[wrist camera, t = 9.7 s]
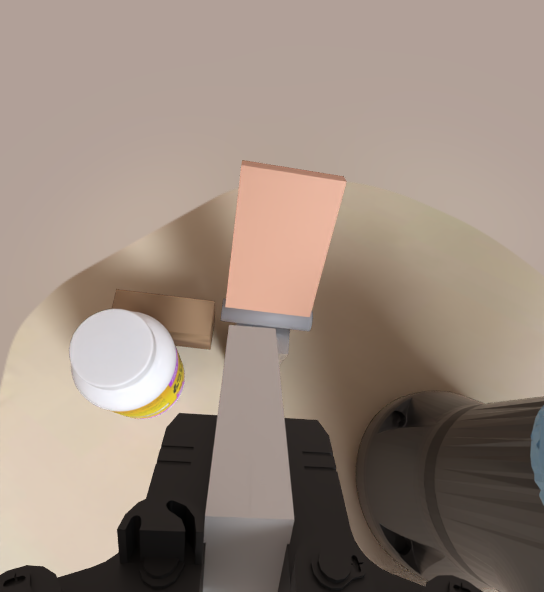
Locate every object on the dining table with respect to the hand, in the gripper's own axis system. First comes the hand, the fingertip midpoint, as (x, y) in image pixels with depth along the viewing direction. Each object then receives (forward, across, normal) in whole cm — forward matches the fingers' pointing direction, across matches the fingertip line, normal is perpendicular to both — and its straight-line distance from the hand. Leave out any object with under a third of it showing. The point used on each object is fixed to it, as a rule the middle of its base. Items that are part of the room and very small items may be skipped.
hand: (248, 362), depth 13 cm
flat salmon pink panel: (+14, +2, 0) cm, 14 cm away
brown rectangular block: (+21, -7, -11) cm, 25 cm away
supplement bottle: (+18, -8, -15) cm, 24 cm away
